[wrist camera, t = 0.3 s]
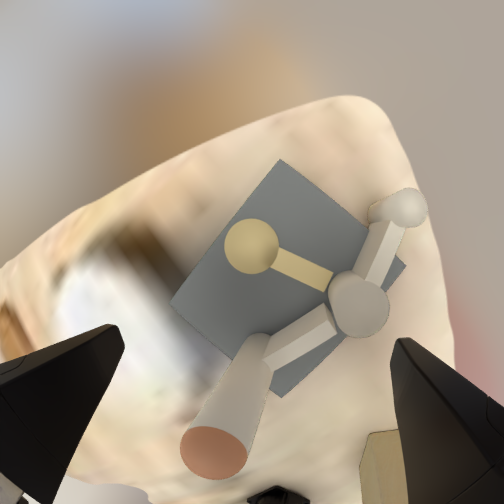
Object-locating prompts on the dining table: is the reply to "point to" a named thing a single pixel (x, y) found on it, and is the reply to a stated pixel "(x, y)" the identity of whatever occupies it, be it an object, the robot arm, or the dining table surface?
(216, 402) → the fence post
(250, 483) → the dining table surface
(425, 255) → the dining table surface
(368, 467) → the toy refrigerator
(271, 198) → the board
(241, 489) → the dining table surface
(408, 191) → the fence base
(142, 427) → the dining table surface
